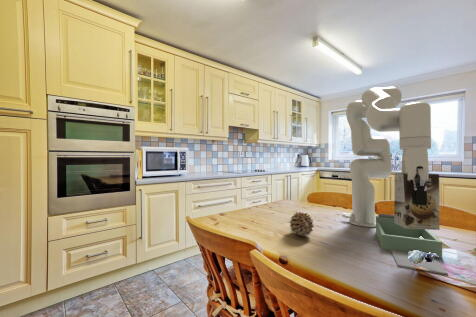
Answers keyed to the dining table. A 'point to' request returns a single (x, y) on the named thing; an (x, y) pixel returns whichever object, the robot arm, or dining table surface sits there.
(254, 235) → the dining table surface
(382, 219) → the tray
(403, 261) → the mat
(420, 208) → the cookie box
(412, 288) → the dining table surface
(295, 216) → the pine cone
